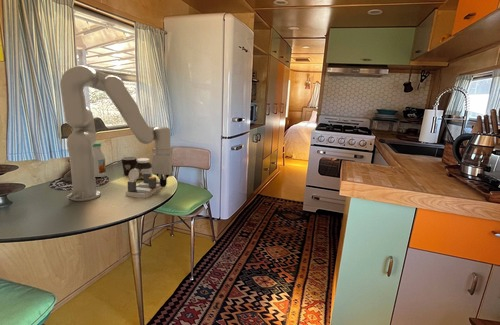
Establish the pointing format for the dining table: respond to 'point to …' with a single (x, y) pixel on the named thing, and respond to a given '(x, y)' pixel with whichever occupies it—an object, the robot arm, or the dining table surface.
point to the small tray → (142, 187)
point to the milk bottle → (99, 160)
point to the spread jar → (140, 169)
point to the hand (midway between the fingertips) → (163, 186)
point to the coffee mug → (128, 164)
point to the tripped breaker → (152, 182)
